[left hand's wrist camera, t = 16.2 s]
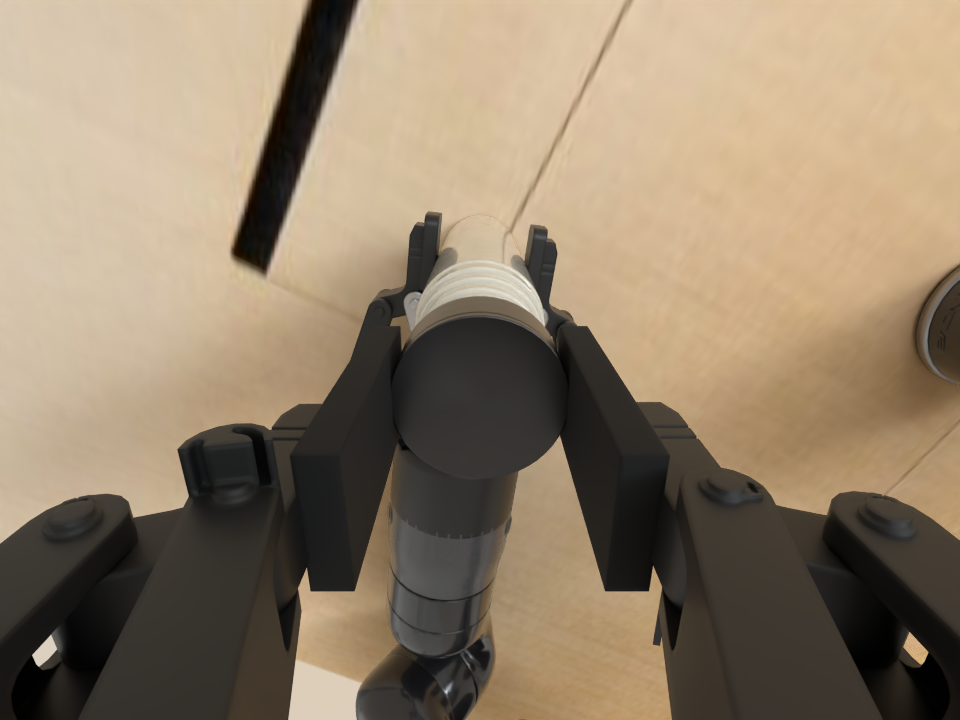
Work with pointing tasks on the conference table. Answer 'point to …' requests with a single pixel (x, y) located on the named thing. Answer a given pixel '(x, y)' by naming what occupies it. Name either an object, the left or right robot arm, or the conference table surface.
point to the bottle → (479, 268)
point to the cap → (479, 388)
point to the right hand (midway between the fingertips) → (487, 222)
